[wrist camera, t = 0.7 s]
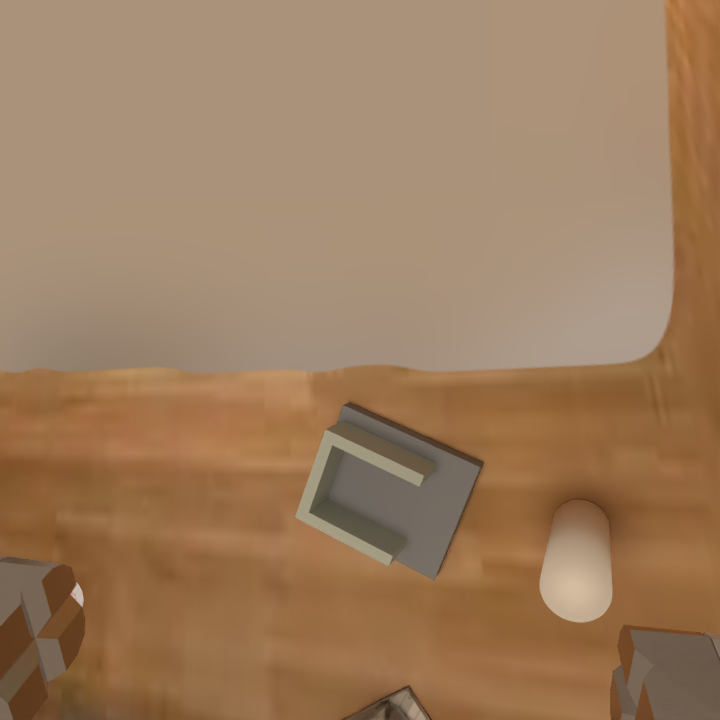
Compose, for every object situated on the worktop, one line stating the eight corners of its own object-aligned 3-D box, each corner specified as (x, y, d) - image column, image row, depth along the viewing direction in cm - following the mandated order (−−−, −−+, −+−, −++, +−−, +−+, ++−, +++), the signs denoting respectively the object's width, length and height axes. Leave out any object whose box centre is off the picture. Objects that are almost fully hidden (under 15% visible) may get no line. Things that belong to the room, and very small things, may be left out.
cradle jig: (349, 402, 58) (325, 412, 53) (483, 462, 54) (471, 480, 49) (312, 508, 60) (285, 527, 55) (438, 573, 56) (422, 600, 51)
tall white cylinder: (564, 490, 52) (555, 543, 41) (618, 514, 51) (623, 575, 40) (544, 536, 53) (529, 601, 42) (596, 561, 52) (595, 634, 40)
